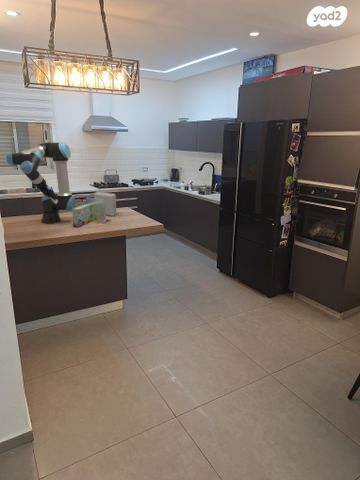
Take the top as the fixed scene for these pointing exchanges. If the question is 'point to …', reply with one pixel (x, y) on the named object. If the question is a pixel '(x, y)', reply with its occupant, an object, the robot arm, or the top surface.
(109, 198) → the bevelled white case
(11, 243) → the top surface
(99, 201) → the frosted plastic container
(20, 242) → the top surface
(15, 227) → the top surface
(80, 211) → the snack box
